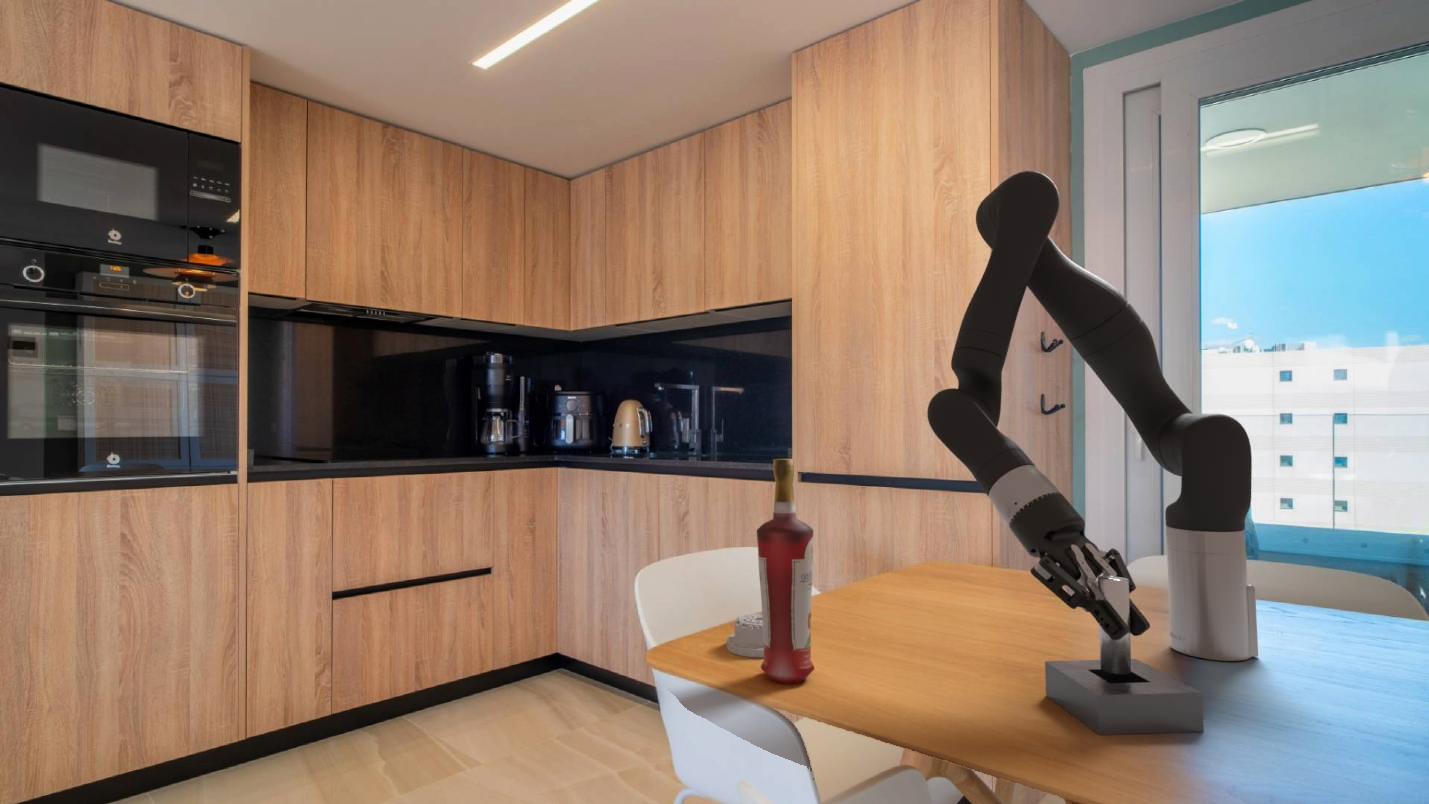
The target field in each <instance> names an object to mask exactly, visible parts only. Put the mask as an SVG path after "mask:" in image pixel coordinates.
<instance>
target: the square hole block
mask: <svg viewBox="0 0 1429 804" xmlns="http://www.w3.org/2000/svg"><path fill="white" fill-rule="evenodd" d="M1044 670H1045V671H1044V672H1045V675H1044V676H1045V696H1046V697H1047V698H1049V699H1050V700H1052V701H1053V702H1054V703H1055V704H1057V705H1058V706H1060V708H1063V710H1065V711H1066V712H1067V713H1069V714H1070V715H1072V716H1073V717H1075V719H1077V720H1079V721H1080V722H1081V723H1083V724H1084V725H1085V726H1086V727H1088V728H1089V729H1090V730H1092V731H1093V732H1095V733H1096V734H1097V735H1099V736H1100V735H1102V736H1104V735H1105V736H1107V735H1110V736H1111V735H1138V734H1140V735H1141V734H1168V733H1170V734H1174V733H1175V734H1177V733H1204V732H1205V731H1204V707H1203V692H1202V691H1200V690H1198V689H1196V688H1195V687H1192V686H1190V685H1189V684H1186V683H1184V682H1182V681H1180V680H1179V679H1176V678H1175V677H1172V676H1170V675H1168V674H1166V673H1164V672H1163V671H1161V670H1158V669H1157V668H1155V667H1153V666H1151V665H1149V664H1147V663H1145V662H1143V661H1141V660H1138V659H1137V658H1131V673H1129V674H1115V673H1110V672H1106V671H1104V670H1102V669H1101V668H1100V659H1084V660H1081V659H1080V660H1079V659H1078V660H1077V659H1076V660H1045V661H1044Z"/></svg>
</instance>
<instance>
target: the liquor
mask: <svg viewBox="0 0 1429 804" xmlns="http://www.w3.org/2000/svg"><path fill="white" fill-rule="evenodd" d="M772 463H773V477H774V482H775V487H774V500H773V502H774V503H773V515H772V518H771V519H770V520H768V521H765V522H764V523H763V524H761V525H760V526H759V527H758V528H757V529H756V540H757V557H758V559H757V560H758V574H759V575H758V576H759V586H760V589H759V590H760V601H761V614H762V620H763V641H764V657H763V661H762V663H761V665H760V669H761V670H762V672H763V673H765V675H766V676H768V677H769V679H770V680H771V681H772V682H776V683H779V684H787V685H789V684H798V683H802V682H803V681H805V680H806V679H807V677H809V675H811V673H813V672H814V670H815V665H814V664H813V661H812V660H811V658H812V657H811V654H812V652H811V650H812V648H811V647H812V646H811V645H812V644H811V643H812V640H811V639H812V638H811V637H812V633H811V631H812V593H813V570H814V568H813V566H814V555H813V554H814V529H813V528H812V527H811V526H810V525H809V524H807V523H806V522H804V521H802V520H799V519H797V514H796V503H795V494H794V486H793V480H794V474H795V459H794V458H776V459H775V458H774V459H773V462H772Z"/></svg>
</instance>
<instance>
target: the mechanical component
mask: <svg viewBox="0 0 1429 804" xmlns="http://www.w3.org/2000/svg"><path fill="white" fill-rule="evenodd" d="M726 649H727V651H728V652H730V653H732V654H734V655H738V656H741V657H748V658H764V641H763V620H762V613H753V614H744V615H743V616H739V617H738V616H737V617H736V618H735V619H734V633H733V634H730V635H729V636H727V638H726Z"/></svg>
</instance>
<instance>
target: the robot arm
mask: <svg viewBox="0 0 1429 804" xmlns="http://www.w3.org/2000/svg"><path fill="white" fill-rule="evenodd" d="M1060 205H1061V199H1060V193H1059V190H1058V187H1057V186H1056V184H1055V182H1054V181H1052V179H1051V177H1048V176H1047V175H1046V174H1044V173H1042V172H1039V171H1036V170H1025V171H1024V170H1023V171H1019V172H1017V173H1015V174H1013V175H1011V176H1009V177H1008V178H1006V179H1004V181H1002V182H1001V183H1000V184H999V185H998V186H997V187H996V188H994V189H993V190H992V191H991V192H990V193H988V194H987V195H986V197H984V199H983V200H982V201H980V204H979V205H978V206H977V209H976V213H975V225H976V227H977V231H978V233H979V235H980V236H981V238H982V240H983V241H984V242H985V243H986V245H987V246H988V247H989V248H990V249H991V252H990V255H989V256H990V257H989V259H988V262H987V265H986V267H985V270H984V271H983V275H982V276H981V278H980V281H979V282H978V285H977V287H976V289H975V290H974V293H973V295H972V296H971V298H970V301H969V303H968V305H967V307H966V310H965V312H964V315H963V318H962V321H961V323H960V327H959V330H958V334H957V338H956V341H955V345H954V348H953V352H952V356H951V361H950V367H951V370H952V372H953V373H954V375H955V376H956V378H957V382H958V384H957V385H958V386H957V388H945V389H942V390H940V391H938V392H937V393H936V394H935V395H933V397H932V398H931V399H930V401H929V403H928V406H927V411H926V413H927V414H926V415H927V420H928V425H929V427H930V428H931V430H932V432H933V433H934V434H935V436H936V437H937V438H938V439H939V441H941V442H942V444H943V445H944V446H945V447H946V448H947V449H948V450H949V451H950V452H951V453H952V454H953V455H954V456H955V457H956V458H957V459H958V460H959V461H960V462H961V463H962V464H963V465H964V466H965V467H966V468H967V469H968V470H969V472H970V473H971V474H972V476H973V477H974V480H976V483H978V485H979V486H980V487H981V488H982V490H983V491H984V492H985V494H986V495H987V497H988V498H989V500H991V503H992V504H993V507H994V508H995V510H996V512H997V513H998V514H999V516H1000V517H1001V518H1002V520H1003V521H1004V523H1005V524H1006V525H1007V526H1008V528H1009V529H1010V531H1011V532H1012V534H1013V535H1014V536H1015V537H1016V539H1017V540H1018V541H1019V543H1020V544H1021V546H1022V547H1023V548H1024V549H1025V551H1026V552H1027V553H1028V555H1030V556H1031V557H1032V558H1036V559H1037V558H1038V559H1039V561H1038V562H1036V564H1035V565H1034V566H1032V568H1031V569H1030V574H1031V575H1032V576H1033V577H1034V578H1035V579H1036V580H1037V581H1039V582H1040V583H1041V584H1042V585H1043V586H1045V587H1046V588H1047V589H1048V590H1049V591H1051V593H1053V594H1054V595H1055V596H1056V597H1057V598H1058V599H1060V600H1061V601H1062V602H1063V603H1064V604H1065V605H1067V606H1068V607H1069V608H1070V609H1073V610H1075V609H1077V608H1081V609H1082V610H1083V611H1085V612H1087V613H1090V614H1091V616H1092V617H1093V618H1094V619H1095V621H1096V623H1098V626H1099V625H1100V626H1101V627H1102V629H1103V630H1104V631H1105V632H1106V633H1107V634H1108V635H1109V637H1110V638H1111V639H1112V640H1119V639H1121V638H1122V637H1124V636H1125V635H1126V634H1127V633H1129V627H1128V626H1127V624H1126V623H1125V622H1124V621H1123V619H1122V618H1121V617H1120V615H1119V614H1118V613H1117V612H1116V610H1115V609H1114V608H1113V607H1112V605H1111V604H1110V603H1109V602H1108V601H1103V600H1104V596H1103V594H1102V593H1101V591H1100V590H1099V588H1098V580H1097V579H1098V577H1099V576H1116V577H1123V578H1126V579H1128V580H1129V596H1131V593H1132V592H1134V591H1135V590H1136V588H1137V586H1136V584H1135V582H1134V580H1133V577H1132V576H1131V573H1130V571H1129V570H1128V567H1127V565H1126V564H1125V562H1124V558H1122V555H1121V553H1120V552H1119V551H1118V550H1117V549H1116V548H1110V549H1109V550H1108V551H1104V550H1101V549H1099V547H1098V546H1097V545H1096V544H1095V543H1094V542H1092V541H1091V540H1090V539H1089V538H1088V537H1086V536H1085V528H1086V522H1085V520H1084V518H1083V517H1082V516H1081V514H1080V513H1079V512H1078V511H1077V510H1076V509H1075V507H1074V506H1073V505H1072V504H1071V503H1070V501H1068V499H1067V498H1066V497H1065V496H1064V495H1063V493H1062V492H1061V491H1060V490H1059V488H1058V487H1057V486H1056V485H1055V484H1054V483H1053V481H1051V480H1050V478H1049V477H1048V476H1047V475H1045V474H1044V473H1043V472H1042V470H1040V469H1039V468H1038V467H1037V465H1035V463H1034V462H1033V461H1032V459H1031V458H1030V457H1029V456H1028V455H1027V454H1026V453H1025V452H1024V450H1023V449H1022V447H1020V446H1019V445H1018V444H1017V443H1016V442H1015V441H1014V440H1012V439H1011V438H1010V437H1008V436H1007V435H1005V434H1004V433H1003V432H1001V431H1000V429H998V426H999V422H1000V419H1001V410H1002V408H1001V407H1002V393H1003V392H1002V391H1003V385H1002V384H1003V382H1002V376H1003V375H1002V374H1003V370H1004V366H1005V363H1006V360H1007V356H1008V351H1009V348H1010V343H1011V340H1012V337H1013V336H1012V335H1013V332H1014V328H1015V325H1016V322H1017V318H1018V315H1019V311H1020V309H1021V305H1022V302H1023V299H1024V296H1025V293H1026V290H1027V288H1028V289H1029V291H1030V292H1031V294H1033V295H1034V296H1033V297H1035V298H1036V300H1037V301H1038V302H1039V303H1040V305H1041V306H1042V308H1043V309H1044V310H1045V311H1046V312H1047V314H1048V315H1049V316H1050V317H1051V318H1052V320H1054V322H1055V323H1056V325H1057V326H1058V328H1060V330H1061V332H1062V333H1063V335H1065V338H1066V339H1067V340H1068V341H1069V343H1070V344H1071V345H1072V347H1073V348H1074V349H1075V350H1076V352H1077V353H1078V354H1079V355H1080V357H1081V358H1082V360H1084V362H1085V363H1086V364H1087V365H1088V366H1089V368H1090V369H1091V370H1092V371H1093V373H1094V374H1095V375H1096V377H1098V379H1099V380H1100V381H1101V383H1102V384H1103V385H1104V387H1105V388H1106V389H1107V390H1108V391H1109V393H1110V394H1111V395H1112V397H1113V398H1114V399H1115V400H1116V401H1117V403H1118V404H1119V405H1120V407H1121V408H1122V409H1123V411H1124V412H1125V414H1126V415H1127V417H1128V418H1129V420H1130V422H1131V423H1132V425H1133V427H1134V428H1135V429H1136V431H1137V433H1138V435H1139V436H1140V438H1141V439H1142V441H1143V443H1144V444H1145V446H1146V447H1147V450H1148V451H1149V452H1150V454H1151V456H1152V457H1153V458H1154V460H1155V461H1156V463H1158V465H1159V466H1160V467H1162V468H1163V469H1164V470H1165V471H1166V472H1169V473H1170V474H1172V475H1175V476H1178V477H1181V483H1180V484H1181V485H1180V486H1181V487H1180V494H1179V497H1178V498H1177V499H1176V500H1175V501H1174V502H1172V503H1170V504H1169V505H1167V506H1166V508H1165V515H1164V516H1165V519H1164V520H1165V533H1166V534H1165V537H1166V539H1165V541H1166V558H1167V559H1166V560H1167V564H1166V565H1167V583H1168V589H1167V590H1168V605H1169V606H1168V608H1169V609H1168V610H1169V635H1170V647H1171V648H1172V649H1173V650H1175V651H1177V652H1179V653H1181V654H1184V655H1187V656H1191V657H1196V658H1202V659H1206V660H1212V661H1213V660H1214V661H1223V662H1224V661H1225V662H1239V661H1246V660H1248V659H1250V658H1254V657H1257V658H1258V657H1259V638H1258V625H1257V624H1258V623H1257V600H1256V587H1255V586H1254V585H1252V584H1250V583H1248V567H1247V565H1248V564H1247V548H1246V546H1247V545H1246V543H1247V542H1246V517H1247V515H1248V513H1249V511H1250V508H1251V503H1252V481H1253V480H1252V478H1253V477H1252V469H1253V465H1252V463H1253V462H1252V459H1253V457H1252V456H1253V455H1252V448H1251V447H1252V446H1251V442H1250V439H1249V438H1250V437H1249V436H1248V433H1247V431H1246V429H1245V427H1243V425H1242V424H1241V422H1239V420H1237V419H1235V418H1234V417H1231V416H1230V415H1226V414H1222V413H1215V412H1214V413H1211V412H1210V413H1208V412H1207V413H1205V412H1204V413H1194V412H1193V411H1191V409H1189V408H1188V406H1186V404H1185V403H1184V402H1183V401H1182V400H1181V399H1180V397H1179V396H1177V394H1176V393H1175V392H1174V391H1173V389H1172V388H1171V386H1170V385H1169V383H1168V382H1167V380H1166V379H1165V377H1164V375H1163V372H1162V369H1161V366H1160V365H1161V364H1160V362H1159V357H1158V353H1157V347H1156V345H1155V341H1154V338H1153V336H1152V332H1151V331H1150V328H1149V327H1148V325H1147V324H1146V322H1145V321H1144V319H1143V318H1142V317H1141V316H1140V314H1139V313H1138V312H1137V310H1136V309H1135V307H1133V306H1132V304H1131V302H1129V301H1128V299H1127V297H1125V295H1123V293H1121V291H1120V290H1118V289H1117V288H1116V287H1115V286H1113V285H1111V284H1110V283H1109V282H1108V281H1106V280H1104V279H1102V278H1100V277H1099V276H1097V275H1096V274H1094V273H1092V272H1090V271H1088V270H1087V269H1085V268H1083V267H1081V266H1080V265H1079V264H1077V263H1075V262H1073V260H1071V259H1070V258H1069V257H1067V256H1066V255H1065V254H1064V253H1063V252H1062V251H1061V249H1059V247H1058V246H1057V245H1056V244H1055V242H1054V241H1053V239H1051V237H1050V233H1051V230H1052V228H1053V226H1054V224H1055V221H1056V219H1057V217H1058V214H1059V210H1060V207H1061V206H1060ZM1063 587H1064V588H1065V589H1064V588H1063ZM1129 605H1130V635H1132V636H1134V637H1138V636H1142V635H1143V634H1144V633H1145V632H1147V631H1148V630H1149V629H1150V627H1151V625H1150V622H1149V620H1147V618H1146V616H1145V615H1144V614H1143V613H1142V611H1140V609H1139V608H1138V607H1137V605H1136V604H1135V602H1133V600H1132V599H1131V598H1130V597H1129Z"/></svg>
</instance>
